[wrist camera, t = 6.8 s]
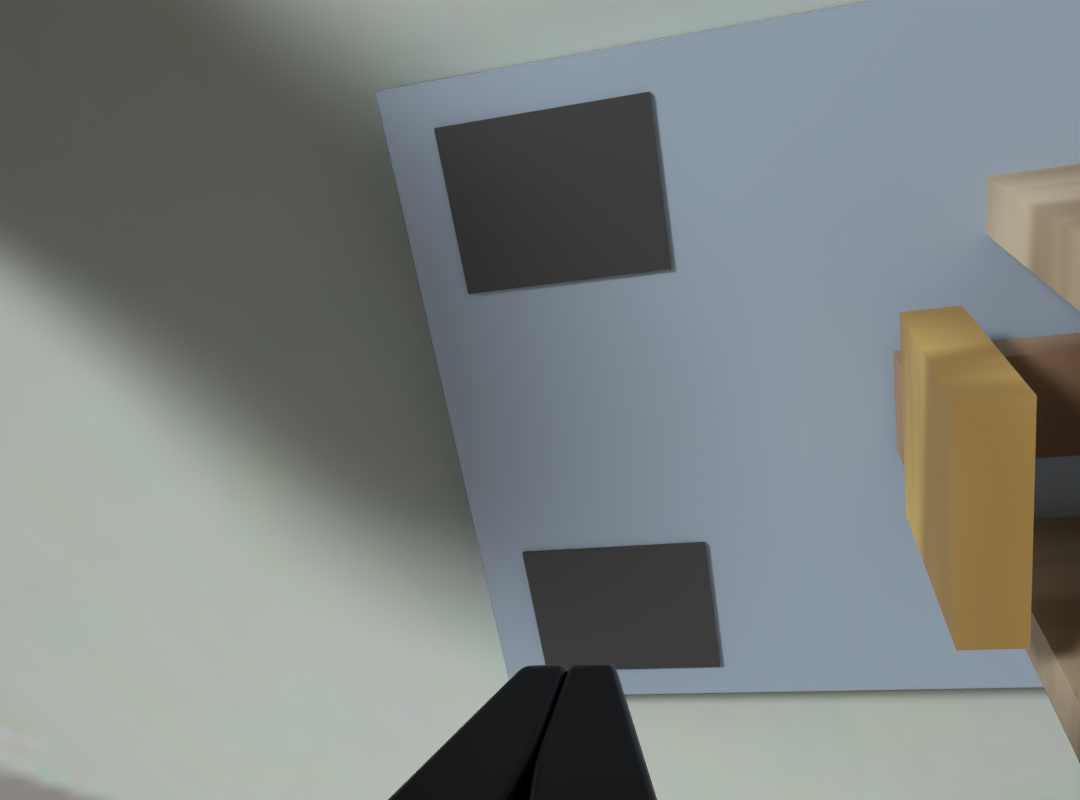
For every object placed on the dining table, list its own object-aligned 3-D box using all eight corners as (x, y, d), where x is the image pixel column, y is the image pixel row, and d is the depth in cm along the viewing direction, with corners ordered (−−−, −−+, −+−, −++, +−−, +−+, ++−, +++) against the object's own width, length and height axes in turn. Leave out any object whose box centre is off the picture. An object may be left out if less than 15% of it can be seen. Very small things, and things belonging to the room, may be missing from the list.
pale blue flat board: (1663, -144, 13) (1755, -160, 12) (1476, 639, 18) (1527, 681, 17) (396, 87, 18) (373, 92, 17) (522, 663, 23) (512, 699, 22)
